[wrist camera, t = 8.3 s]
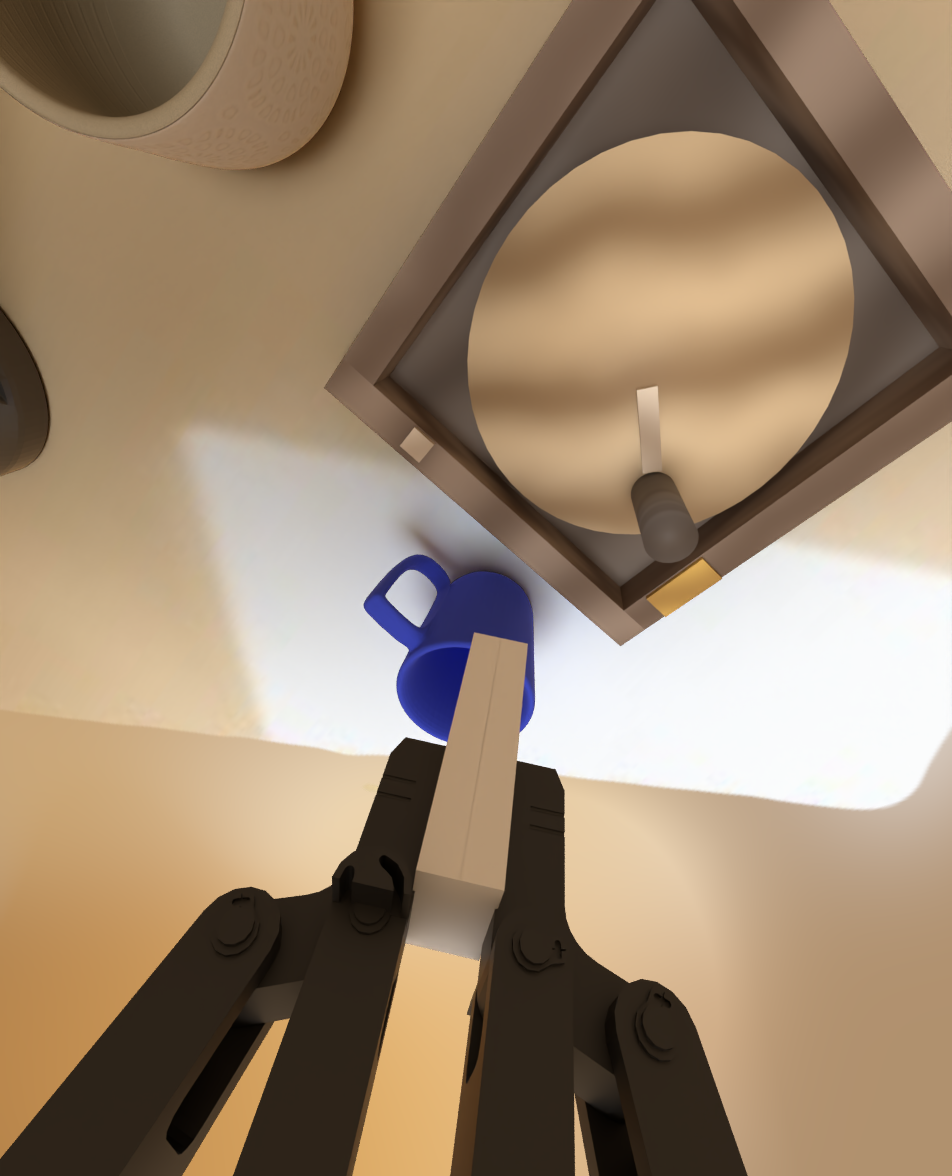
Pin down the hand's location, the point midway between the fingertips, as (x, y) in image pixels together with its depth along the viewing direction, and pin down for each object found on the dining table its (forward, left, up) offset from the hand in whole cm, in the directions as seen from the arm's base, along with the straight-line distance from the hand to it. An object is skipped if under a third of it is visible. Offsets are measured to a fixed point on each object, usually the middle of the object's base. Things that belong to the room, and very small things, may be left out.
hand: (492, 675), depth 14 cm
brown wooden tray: (0, +8, -20) cm, 22 cm away
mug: (+3, -10, -21) cm, 23 cm away
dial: (0, +8, -20) cm, 22 cm away
